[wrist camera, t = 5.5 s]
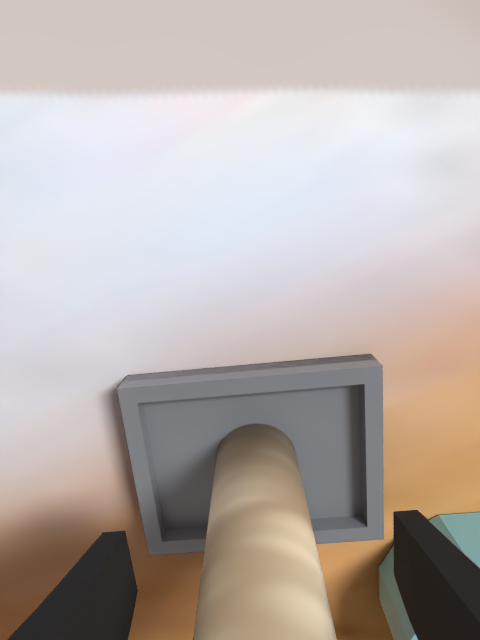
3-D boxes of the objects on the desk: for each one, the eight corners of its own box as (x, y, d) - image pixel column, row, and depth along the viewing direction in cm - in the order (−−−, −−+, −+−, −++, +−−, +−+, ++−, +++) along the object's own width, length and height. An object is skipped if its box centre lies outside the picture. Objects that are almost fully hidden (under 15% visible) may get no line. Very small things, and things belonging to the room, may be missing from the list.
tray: (370, 353, 14) (382, 365, 13) (373, 515, 15) (383, 539, 14) (127, 375, 14) (116, 388, 13) (156, 531, 16) (148, 555, 15)
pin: (292, 419, 14) (353, 671, 6) (299, 489, 14) (362, 797, 7) (211, 428, 14) (167, 685, 6) (222, 497, 15) (195, 806, 7)
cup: (543, 507, 15) (614, 574, 12) (529, 633, 17) (589, 718, 14) (378, 519, 15) (409, 587, 12) (379, 641, 17) (407, 727, 14)
